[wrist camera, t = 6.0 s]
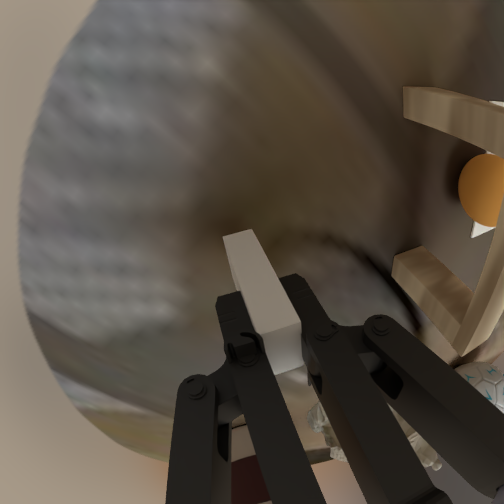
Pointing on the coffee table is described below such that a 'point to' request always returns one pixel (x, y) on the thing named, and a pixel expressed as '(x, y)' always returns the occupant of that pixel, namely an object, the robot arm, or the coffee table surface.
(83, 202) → the coffee table surface
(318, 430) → the ceramic cottage
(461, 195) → the ball
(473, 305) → the bridge
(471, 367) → the puzzle ball
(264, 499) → the coffee cup
